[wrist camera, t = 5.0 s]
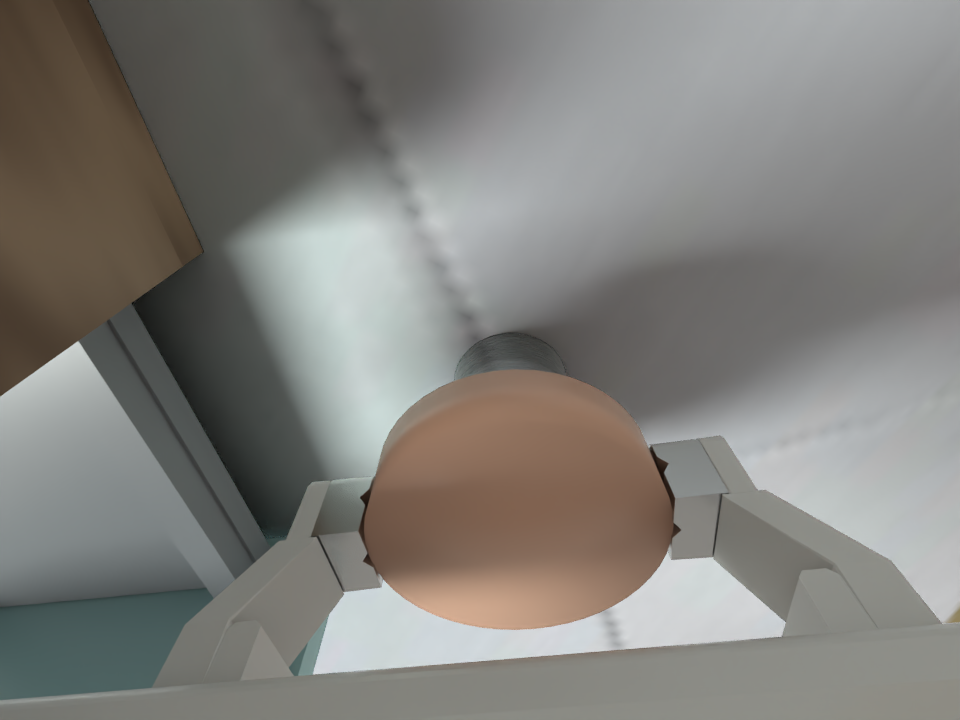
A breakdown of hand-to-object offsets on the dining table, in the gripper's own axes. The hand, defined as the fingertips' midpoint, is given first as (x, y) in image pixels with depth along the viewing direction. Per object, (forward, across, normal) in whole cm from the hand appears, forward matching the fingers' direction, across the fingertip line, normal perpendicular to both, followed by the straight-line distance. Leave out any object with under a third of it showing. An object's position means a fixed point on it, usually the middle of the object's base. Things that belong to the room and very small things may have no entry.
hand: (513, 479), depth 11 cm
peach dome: (0, 0, 0) cm, 0 cm away
